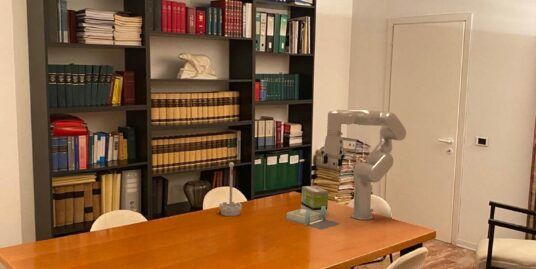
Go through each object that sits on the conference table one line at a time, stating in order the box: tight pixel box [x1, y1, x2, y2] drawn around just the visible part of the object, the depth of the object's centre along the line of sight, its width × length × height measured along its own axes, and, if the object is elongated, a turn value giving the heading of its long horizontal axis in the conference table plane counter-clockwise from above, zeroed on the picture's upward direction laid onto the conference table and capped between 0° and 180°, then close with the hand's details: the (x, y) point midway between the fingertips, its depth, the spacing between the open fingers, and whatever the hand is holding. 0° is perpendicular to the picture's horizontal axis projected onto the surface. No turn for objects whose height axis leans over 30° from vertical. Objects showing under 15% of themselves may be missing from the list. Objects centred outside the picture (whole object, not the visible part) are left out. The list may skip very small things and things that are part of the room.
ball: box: [299, 209, 306, 217], centre depth 292 cm, size 5×5×5 cm
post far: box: [320, 206, 326, 220], centre depth 292 cm, size 2×2×8 cm
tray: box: [286, 208, 321, 224], centre depth 292 cm, size 13×13×3 cm
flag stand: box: [218, 161, 243, 217], centre depth 300 cm, size 13×13×30 cm
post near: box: [304, 210, 310, 226], centre depth 281 cm, size 2×2×8 cm
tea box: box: [300, 185, 329, 217], centre depth 306 cm, size 15×10×15 cm, turn 25°
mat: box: [284, 217, 341, 231], centre depth 289 cm, size 17×27×1 cm, turn 47°
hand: (332, 164), depth 285 cm, fingers open, 9 cm apart
